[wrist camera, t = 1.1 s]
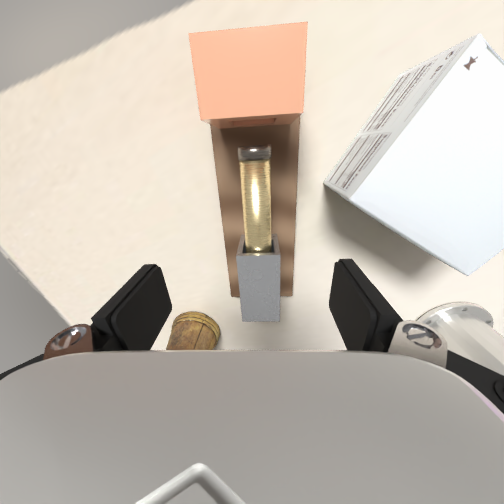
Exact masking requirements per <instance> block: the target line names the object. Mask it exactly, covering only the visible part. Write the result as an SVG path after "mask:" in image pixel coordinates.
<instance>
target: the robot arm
mask: <svg viewBox="0 0 504 504" xmlns="http://www.w3.org/2000/svg"><path fill="white" fill-rule="evenodd" d="M329 308H330V311H331V313H332V315H333V318H334V320H335V322H336V325H337V327H338V329H339V332H340V334H341V336H342V339H343V341H344V343H345V346H346V348H347V350H150V349H151V347H152V345H153V344H154V342H155V340H156V338H157V336H158V334H159V333H160V331H161V329H162V327H163V325H164V323H165V322H166V320H167V318H168V316H169V314H170V312H171V310H172V304H171V300H170V297H169V294H168V290H167V287H166V284H165V280H164V277H163V273H162V270H161V268H160V267H158V266H157V265H156V264H146V265H143V266H142V267H141V268H140V269H139V270H138V271H137V272H136V273H135V274H134V275H133V276H132V277H131V278H130V279H129V280H128V282H127V283H126V284H125V285H124V286H123V287H122V288H121V289H120V290H119V291H118V292H117V293H116V294H115V295H114V296H113V297H112V298H111V299H110V300H109V301H108V302H107V303H106V304H105V305H104V306H103V307H102V308H101V309H100V310H99V311H98V312H97V313H96V314H95V315H94V316H93V317H92V318H91V319H92V321H93V323H92V324H91V326H89V325H87V324H78V325H74V326H71V327H68V328H66V329H64V330H62V331H61V332H59V333H57V334H56V335H55V336H54V337H52V338H51V339H50V340H49V342H48V343H47V345H46V347H45V351H44V354H42V355H40V356H37V357H35V358H33V359H31V360H29V361H27V362H25V363H23V364H21V365H18V366H16V367H14V368H12V369H10V370H8V371H6V372H4V373H2V374H0V504H504V337H503V336H502V335H501V334H499V333H498V332H497V331H496V330H494V329H493V318H492V316H491V314H490V313H489V312H488V311H487V310H485V309H484V308H482V307H481V306H479V305H476V304H473V303H468V302H457V303H450V304H446V305H442V306H439V307H437V308H434V309H432V310H430V311H428V312H427V313H425V314H424V315H422V316H421V317H420V318H419V319H418V320H417V321H411V320H407V321H403V320H402V319H401V317H400V316H399V315H398V314H397V313H396V311H395V310H394V309H393V308H392V306H391V305H390V304H389V303H388V302H387V300H386V299H385V298H384V297H383V295H382V294H381V293H380V292H379V291H378V289H377V288H376V287H375V286H374V285H373V284H372V283H371V282H370V280H369V279H368V278H367V277H366V276H365V274H364V273H363V272H362V271H361V269H360V268H359V267H358V266H357V265H356V263H355V262H354V261H353V260H352V259H339V261H338V262H335V266H334V273H333V279H332V286H331V293H330V299H329Z"/></svg>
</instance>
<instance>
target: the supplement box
mask: <svg viewBox="0 0 504 504" xmlns="http://www.w3.org/2000/svg"><path fill="white" fill-rule="evenodd" d="M323 184H324V185H326V186H327V187H329V188H330V189H332V190H333V191H335V192H336V193H337V194H339V195H340V196H342V197H343V198H344V199H346V200H347V201H349V202H350V203H352V204H353V205H354V206H356V207H357V208H359V209H360V210H362V211H363V212H365V213H366V214H368V215H369V216H371V217H372V218H374V219H375V220H377V221H378V222H380V223H381V224H383V225H384V226H386V227H388V228H389V229H391V230H392V231H394V232H395V233H397V234H398V235H400V236H402V237H403V238H405V239H406V240H408V241H410V242H411V243H413V244H414V245H416V246H418V247H419V248H421V249H422V250H424V251H426V252H427V253H429V254H431V255H432V256H434V257H435V258H437V259H439V260H440V261H442V262H444V263H445V264H447V265H449V266H450V267H452V268H454V269H456V270H458V271H459V272H461V273H463V274H465V275H467V276H469V275H470V274H471V273H473V272H474V271H476V270H477V269H478V268H479V267H481V266H482V265H483V264H485V263H486V262H487V261H489V260H490V259H491V258H493V257H494V256H495V255H496V254H498V253H499V252H500V251H501V250H503V249H504V61H503V59H502V58H501V57H500V56H499V55H498V54H497V53H496V52H495V51H494V50H493V49H492V47H491V46H490V45H489V44H488V43H487V41H486V40H485V39H484V38H483V36H482V35H481V34H477V35H475V36H473V37H471V38H469V39H467V40H465V41H463V42H461V43H459V44H457V45H455V46H453V47H451V48H449V49H447V50H446V51H444V52H442V53H440V54H438V55H436V56H434V57H432V58H430V59H428V60H426V61H424V62H422V63H420V64H418V65H416V66H414V67H412V68H410V69H409V70H407V71H405V72H403V73H401V74H399V76H398V77H397V79H396V80H395V81H394V83H393V84H392V86H391V87H390V89H389V90H388V92H387V93H386V94H385V96H384V97H383V99H382V100H381V101H380V103H379V104H378V106H377V107H376V109H375V110H374V111H373V113H372V114H371V116H370V117H369V118H368V120H367V121H366V123H365V124H364V125H363V127H362V128H361V130H360V131H359V132H358V134H357V135H356V137H355V138H354V139H353V141H352V142H351V144H350V145H349V147H348V148H347V149H346V151H345V152H344V154H343V155H342V156H341V158H340V159H339V161H338V162H337V164H336V165H335V166H334V168H333V169H332V171H331V172H330V173H329V175H328V176H327V178H326V179H325V181H324V182H323Z"/></svg>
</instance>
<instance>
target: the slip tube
mask: <svg viewBox="0 0 504 504" xmlns="http://www.w3.org/2000/svg"><path fill="white" fill-rule="evenodd" d="M237 152H238V160H239V166H240V179H241V193H242V206H243V219H244V233H245V246H246V253H272V246H271V162H270V158H271V145H256V146H241V147H237Z"/></svg>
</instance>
